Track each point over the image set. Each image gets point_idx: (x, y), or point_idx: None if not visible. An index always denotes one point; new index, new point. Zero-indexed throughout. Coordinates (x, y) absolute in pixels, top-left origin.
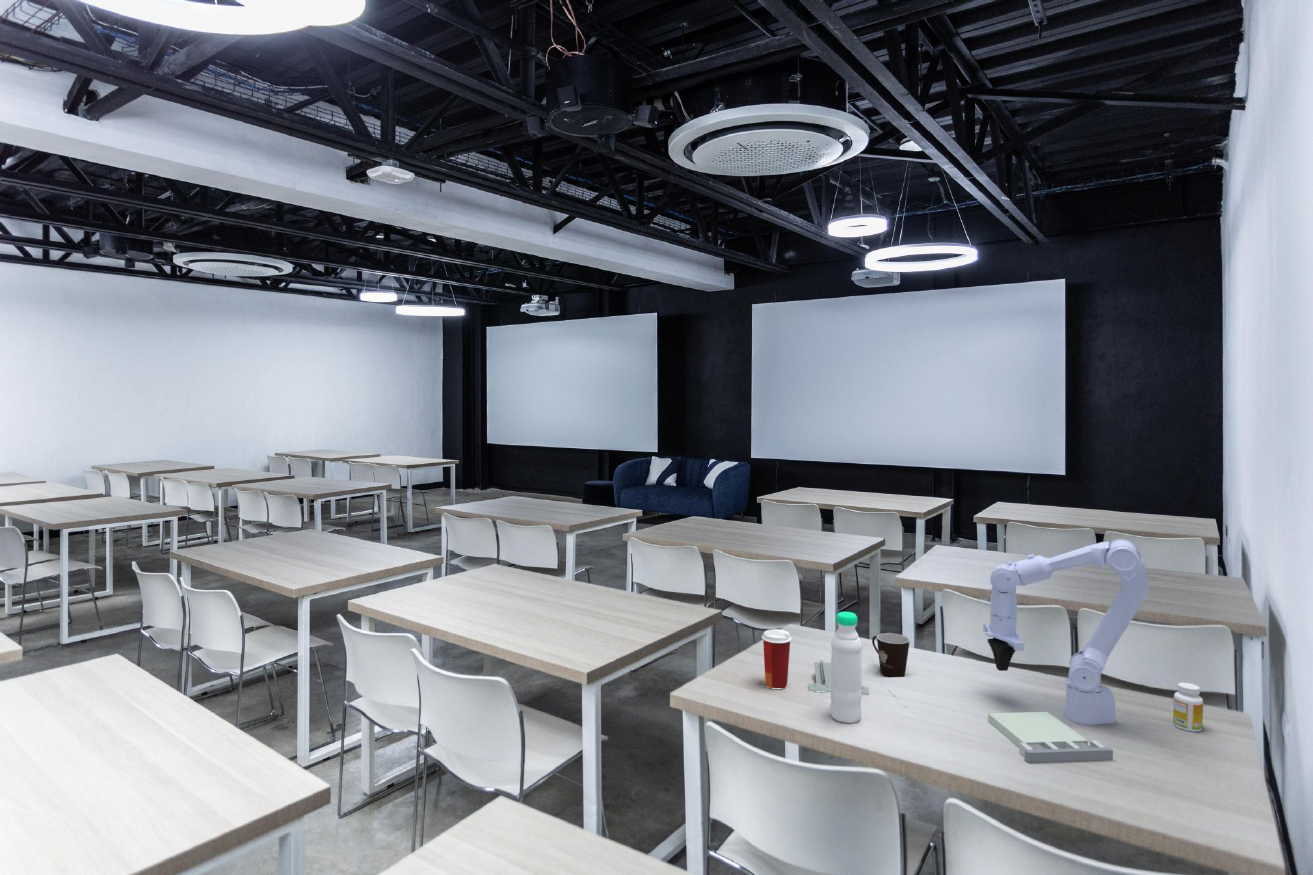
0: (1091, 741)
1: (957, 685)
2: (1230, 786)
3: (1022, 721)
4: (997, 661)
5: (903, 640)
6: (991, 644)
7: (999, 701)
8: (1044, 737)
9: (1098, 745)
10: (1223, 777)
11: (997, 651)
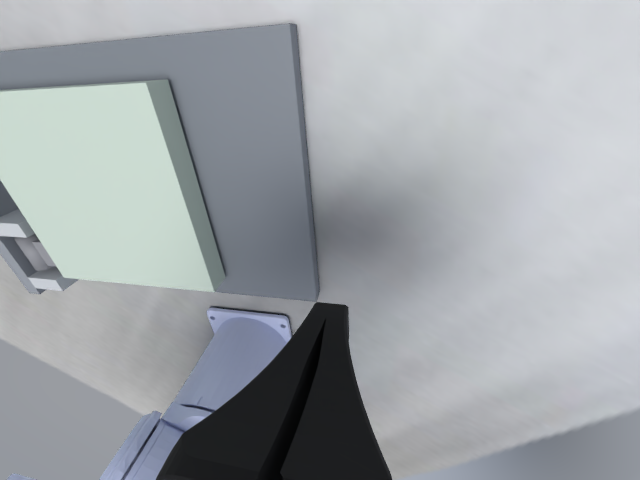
0: (52, 279)
1: (620, 156)
2: (81, 367)
3: (116, 183)
4: (306, 336)
5: None
6: (306, 451)
7: (404, 237)
8: (24, 184)
9: (37, 280)
10: (105, 378)
11: (248, 401)
